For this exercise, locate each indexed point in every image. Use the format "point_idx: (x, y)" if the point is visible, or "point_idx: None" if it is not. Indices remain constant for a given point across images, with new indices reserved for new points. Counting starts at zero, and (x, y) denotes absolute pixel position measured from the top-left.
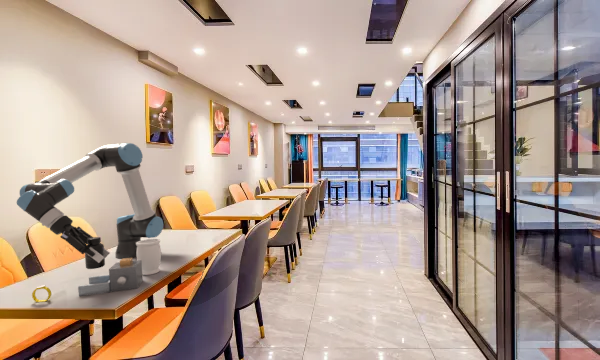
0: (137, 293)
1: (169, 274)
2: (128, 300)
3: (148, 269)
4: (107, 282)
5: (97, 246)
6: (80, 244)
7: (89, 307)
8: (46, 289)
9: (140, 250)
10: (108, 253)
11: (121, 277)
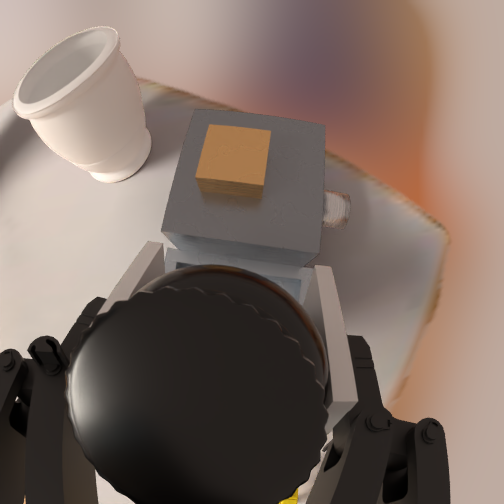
0: (358, 176)
1: (191, 93)
2: (409, 202)
3: (143, 138)
4: (301, 277)
5: (307, 326)
6: (448, 482)
7: (423, 313)
8: (297, 498)
9: (100, 103)
10: (162, 253)
11: (346, 202)
